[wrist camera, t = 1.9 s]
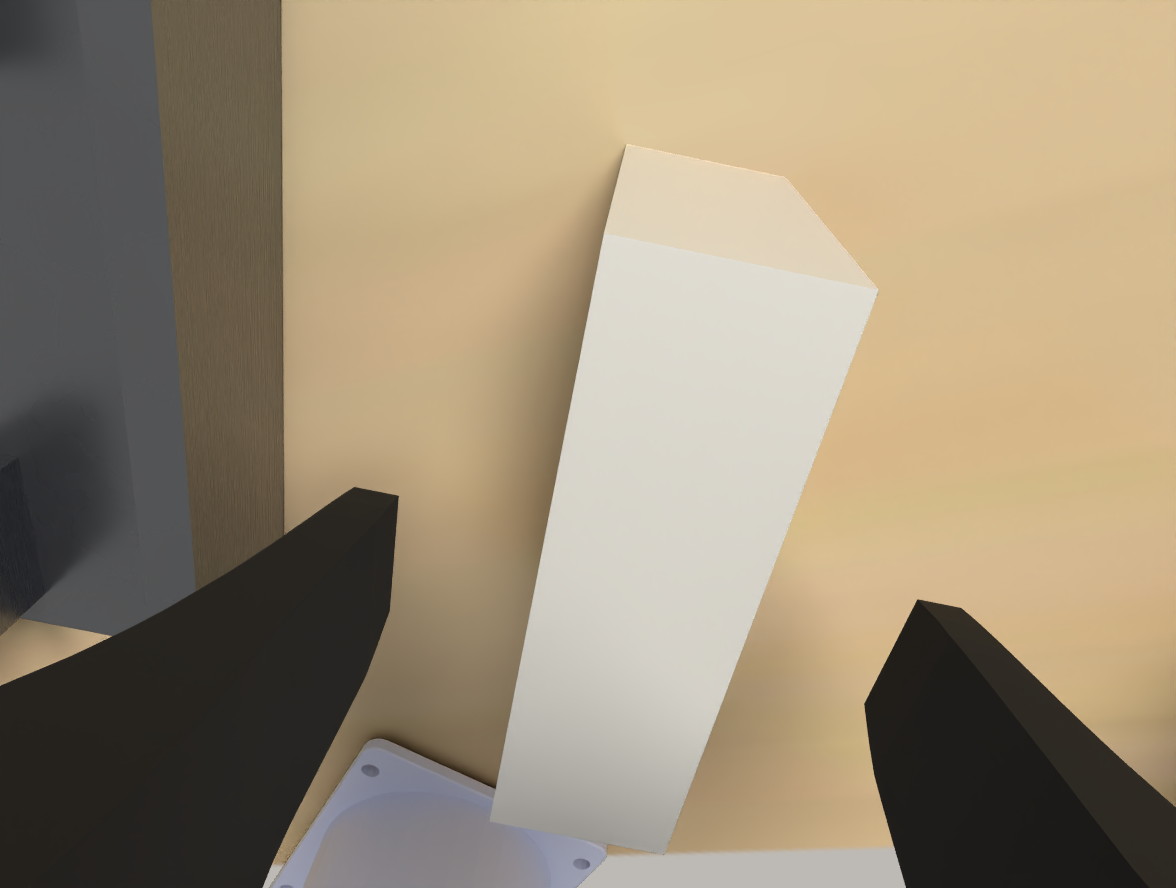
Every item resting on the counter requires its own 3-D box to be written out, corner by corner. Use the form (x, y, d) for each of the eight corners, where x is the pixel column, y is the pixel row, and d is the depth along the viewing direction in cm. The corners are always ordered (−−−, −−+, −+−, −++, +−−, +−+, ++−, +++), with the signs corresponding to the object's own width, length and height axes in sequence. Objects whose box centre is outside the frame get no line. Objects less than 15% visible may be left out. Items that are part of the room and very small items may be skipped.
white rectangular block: (661, 589, 19) (663, 854, 13) (543, 566, 19) (489, 821, 13) (785, 176, 14) (878, 290, 8) (626, 143, 14) (604, 233, 8)
